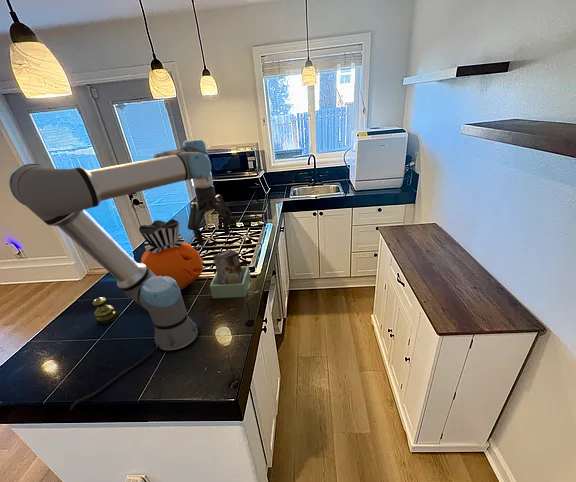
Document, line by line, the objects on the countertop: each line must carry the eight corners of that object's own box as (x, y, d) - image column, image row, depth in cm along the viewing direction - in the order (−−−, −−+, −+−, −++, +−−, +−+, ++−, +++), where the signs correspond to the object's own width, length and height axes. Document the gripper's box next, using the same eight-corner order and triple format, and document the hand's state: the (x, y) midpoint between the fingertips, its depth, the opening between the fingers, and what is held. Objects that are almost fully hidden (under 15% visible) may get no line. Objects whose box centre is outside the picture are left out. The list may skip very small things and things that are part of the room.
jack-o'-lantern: (211, 290, 143) (195, 226, 126) (151, 305, 136) (125, 241, 119) (202, 266, 164) (187, 209, 148) (149, 278, 157) (127, 220, 141)
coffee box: (237, 280, 147) (231, 248, 138) (244, 284, 143) (238, 252, 134) (220, 287, 143) (212, 255, 134) (227, 292, 139) (220, 259, 130)
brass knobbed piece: (121, 314, 132) (112, 294, 127) (108, 325, 126) (98, 304, 121) (107, 312, 134) (97, 293, 129) (94, 323, 128) (83, 303, 123)
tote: (245, 296, 136) (243, 284, 133) (212, 298, 137) (209, 286, 134) (250, 278, 150) (248, 266, 146) (220, 279, 151) (218, 268, 147)
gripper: (180, 195, 108) (194, 252, 120) (235, 179, 123) (243, 231, 135) (168, 192, 112) (183, 247, 124) (222, 178, 127) (231, 228, 139)
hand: (214, 239), depth 129 cm, fingers open, 13 cm apart
